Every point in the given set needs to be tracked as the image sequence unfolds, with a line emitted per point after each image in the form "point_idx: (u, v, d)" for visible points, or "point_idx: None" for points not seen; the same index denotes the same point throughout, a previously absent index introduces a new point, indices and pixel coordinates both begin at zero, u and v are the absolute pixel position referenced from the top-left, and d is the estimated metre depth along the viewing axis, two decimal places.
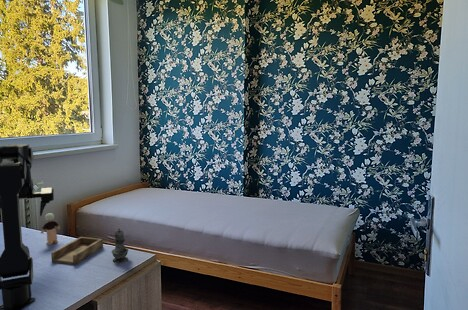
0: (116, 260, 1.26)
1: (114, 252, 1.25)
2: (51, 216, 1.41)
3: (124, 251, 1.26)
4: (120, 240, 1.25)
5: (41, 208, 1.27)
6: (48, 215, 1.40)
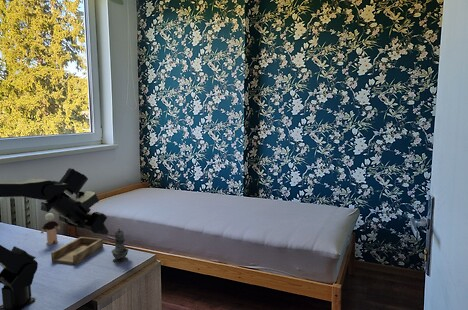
0: (116, 260, 1.26)
1: (114, 252, 1.25)
2: (51, 216, 1.41)
3: (124, 251, 1.26)
4: (120, 240, 1.25)
5: (97, 233, 1.13)
6: (48, 215, 1.40)
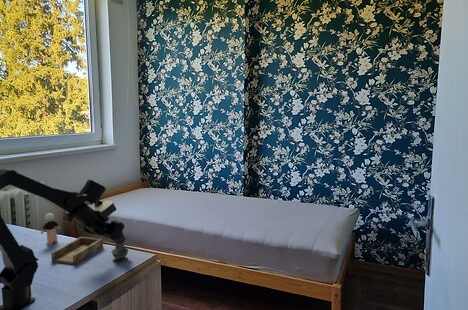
0: (116, 260, 1.26)
1: (114, 252, 1.25)
2: (51, 216, 1.41)
3: (124, 251, 1.26)
4: None
5: (115, 240, 1.19)
6: (48, 215, 1.40)
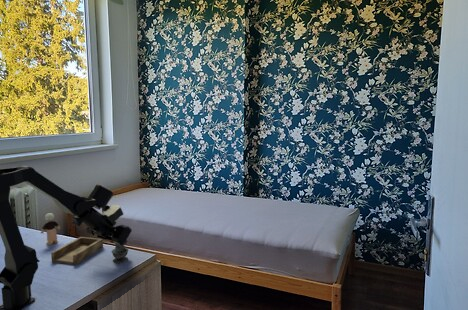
0: (116, 260, 1.26)
1: (114, 252, 1.25)
2: (51, 216, 1.41)
3: (124, 251, 1.26)
4: None
5: None
6: (48, 215, 1.40)
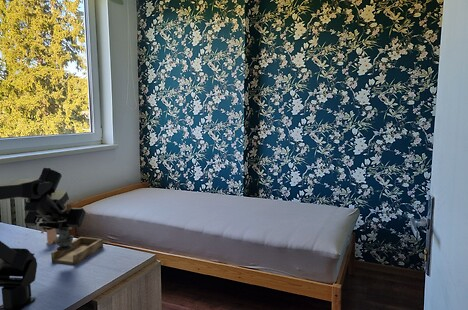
0: (61, 248, 1.20)
1: (60, 240, 1.19)
2: None
3: (70, 237, 1.21)
4: None
5: None
6: None
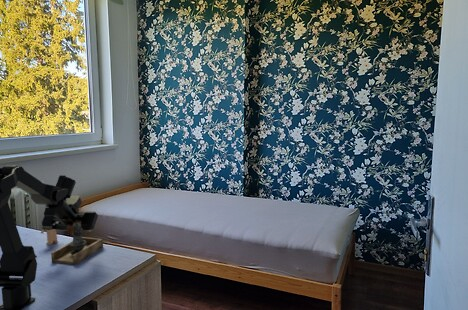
0: (75, 252, 1.30)
1: (74, 244, 1.29)
2: None
3: (83, 242, 1.31)
4: (79, 232, 1.30)
5: (86, 230, 1.28)
6: None
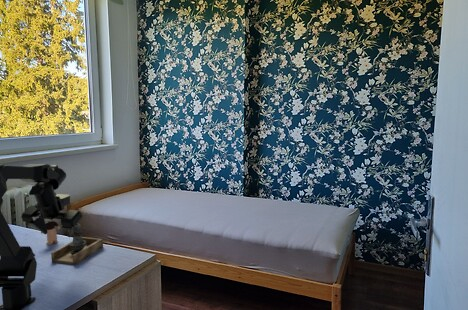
0: (75, 252, 1.30)
1: (74, 244, 1.29)
2: None
3: (83, 242, 1.31)
4: (79, 232, 1.30)
5: (65, 231, 1.17)
6: None
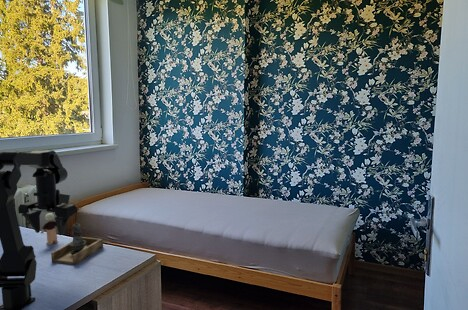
0: (75, 252, 1.30)
1: (74, 244, 1.29)
2: (51, 216, 1.41)
3: (83, 242, 1.31)
4: (79, 232, 1.30)
5: (57, 225, 1.14)
6: (48, 215, 1.40)
